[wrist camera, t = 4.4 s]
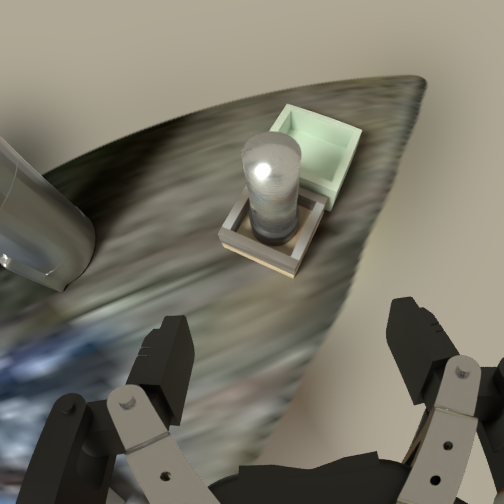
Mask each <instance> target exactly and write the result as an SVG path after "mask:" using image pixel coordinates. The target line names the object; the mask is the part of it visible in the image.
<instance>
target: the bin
mask: <svg viewBox="0 0 504 504" xmlns="http://www.w3.org/2000/svg"><path fill="white" fill-rule="evenodd" d="M270 131H275V132H281V133H284V134H287V135H289V136H291V137H292V138H293V139H294V140H296V142H297V143H298V144H299V146H300V148H301V153H302V155H301V167H300V178H299V187H302V188H304V189H307V190H309V191H312V192H314V193H316V194H319V195H321V196H324V197H326V198H328V199H327V203H326V206H325V210H327V211H329V212H331V210H332V208H333V205H334V203H335V200H336V198H337V196H338V193H339V191H340V189H341V186H342V184H343V181H344V179H345V177H346V174H347V172H348V169H349V167H350V164H351V162H352V159H353V157H354V154H355V152H356V148H357V145H358V142H359V139H360V136H361V132H362V130H361V129H358V128H356V127H353V126H351V125H348V124H345V123H343V122H340V121H337V120H335V119H332V118H329V117H326V116H323V115H320V114H317V113H315V112H312V111H309V110H305V109H302V108H299V107H296V106H293V105H290V104H287V105H286V106H285V108H284V109H283V111H282V112H281V114H280V115H279V117H278V118H277V120H276V122H275V123H274V125H273V126H272V128H271V129H270Z"/></svg>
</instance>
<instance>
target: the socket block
mask: <svg viewBox="0 0 504 504" xmlns="http://www.w3.org/2000/svg"><path fill="white" fill-rule="evenodd" d="M327 199H328V198H326V197H324V196H321V195H319V194H316V193H314V192H312V191H309V190H307V189H304V188H302V187H299V188H298V198H297V205H298V208H299V221H298V228H297V232H296V234H295V236H294V237H293V239H292V240H291V241H289V242H288V243H286V244H284V245H281V246H267V245H265V244H263V243H261V242H259V241H258V240H257V239H256V238H255V236H254V235H253V232H252V229H251V224H250V219H249V208H250V200H249V195H248V189H247V185H246V186H245V188H244V190H243V191H242V193H241V195H240V196H239V198H238V200H237V202H236V203H235V205H234V207H233V208H232V210H231V212H230V214H229V215H228V217H227V219H226V220H225V222H224V224H223V226H222V227H221V229H220V231H219V233H218V236H219V238H220V240H221V242H222V244H223V246H224V247H225V248H228V249H230V250H232V251H234V252H236V253H238V254H241V255H243V256H245V257H247V258H249V259H251V260H254V261H256V262H258V263H260V264H262V265H265V266H267V267H269V268H271V269H273V270H276V271H278V272H280V273H282V274H284V275H286V276H289V277H291V278H293V279H294V276H295V274H296V272H297V270H298V268H299V266H300V264H301V262H302V259H303V257H304V255H305V253H306V251H307V249H308V247H309V244H310V242H311V240H312V238H313V236H314V233H315V231H316V229H317V227H318V225H319V222H320V220H321V218H322V216H323V213H324V210H325V206H326V203H327Z"/></svg>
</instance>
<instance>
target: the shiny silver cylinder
mask: <svg viewBox="0 0 504 504" xmlns="http://www.w3.org/2000/svg"><path fill="white" fill-rule="evenodd" d="M301 155H302V153H301V148H300V146H299V144H298V143H297V142H296V140H294V139H293V138H292V137H291V136H289V135H287V134H284V133H281V132H275V131H268V132H262V133H259V134H257V135H255V136H253V137H251V138H250V139H249V140H248V141H247V142H246V143H245V145H244V147H243V149H242V162H243V168H244V173H245V178H246V184H247V189H248V195H249V200H250V208H249V219H250V224H251V229H252V232H253V235H254V236H255V238H256V239H257V240H258V241H259V242H261V243H263V244H265V245H267V246H281V245H284V244H286V243H288V242H289V241H291V240H292V239H293V237H294V236H295V234H296V232H297V228H298V221H299V208H298V205H297V198H298V188H299V178H300V167H301Z"/></svg>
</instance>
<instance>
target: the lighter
mask: <svg viewBox="0 0 504 504" xmlns="http://www.w3.org/2000/svg"><path fill="white" fill-rule="evenodd" d="M124 503H125V501H124V500H123V499H122V498H121V497H120V496H119V495H118V494H117V493H115V492H114V491H113V490H112V489H111V488H110V487H109V490H108V495H107V500H106V504H124Z"/></svg>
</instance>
